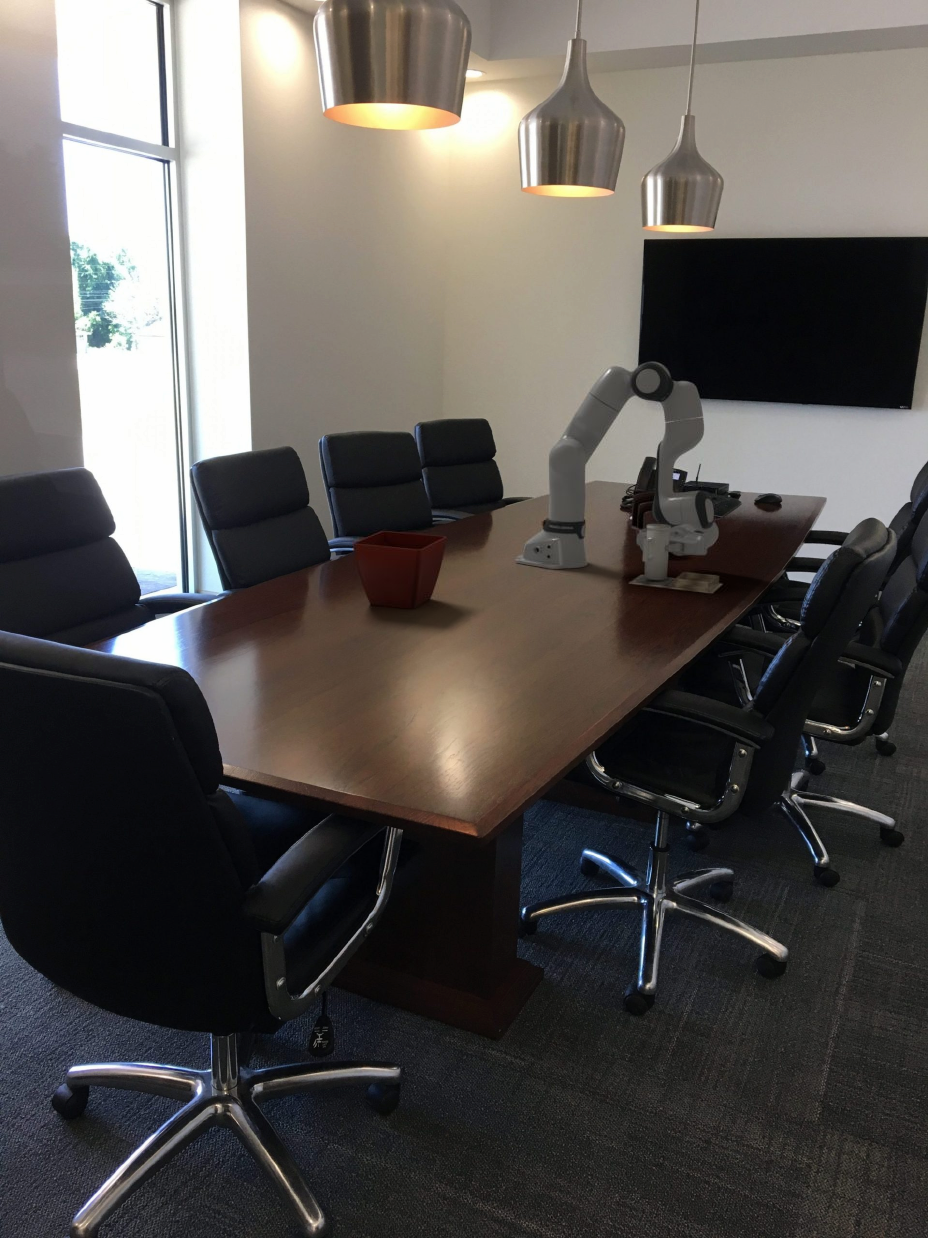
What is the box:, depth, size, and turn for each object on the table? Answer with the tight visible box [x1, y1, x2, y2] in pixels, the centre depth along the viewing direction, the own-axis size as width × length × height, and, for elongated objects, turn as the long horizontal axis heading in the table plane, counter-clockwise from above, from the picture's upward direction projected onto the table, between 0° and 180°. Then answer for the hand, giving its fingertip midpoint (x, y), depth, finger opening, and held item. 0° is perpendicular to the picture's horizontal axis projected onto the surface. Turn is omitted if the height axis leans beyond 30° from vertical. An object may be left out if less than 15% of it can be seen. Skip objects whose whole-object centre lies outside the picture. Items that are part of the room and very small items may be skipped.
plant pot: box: [352, 530, 447, 610], centre depth 263 cm, size 19×19×17 cm
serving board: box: [628, 571, 723, 594], centre depth 286 cm, size 24×13×4 cm, turn 64°
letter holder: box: [630, 490, 679, 532], centre depth 375 cm, size 10×20×14 cm, turn 108°
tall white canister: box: [642, 524, 671, 580], centre depth 285 cm, size 10×7×15 cm
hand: (655, 546), depth 285 cm, fingers closed on tall white canister, 6 cm apart
